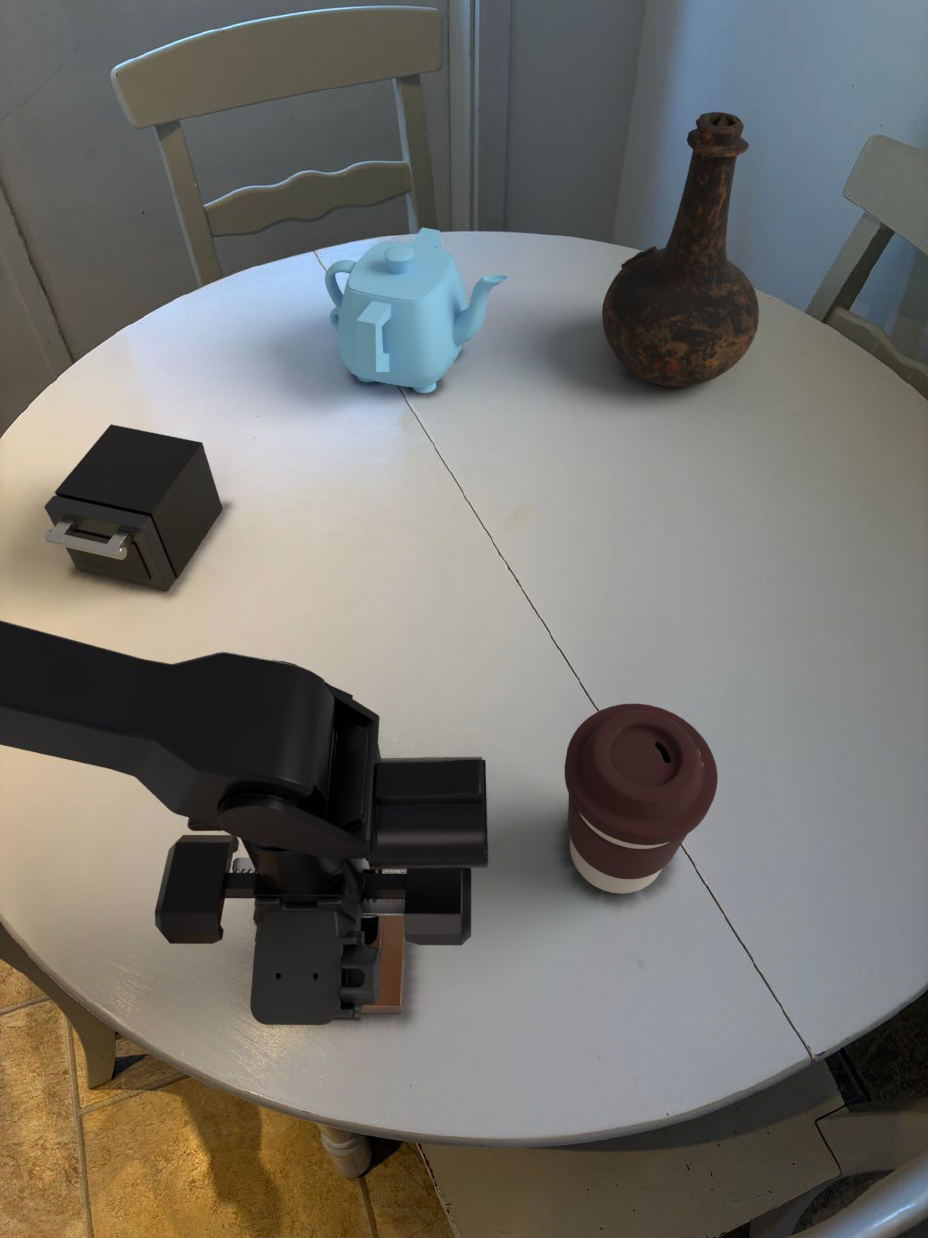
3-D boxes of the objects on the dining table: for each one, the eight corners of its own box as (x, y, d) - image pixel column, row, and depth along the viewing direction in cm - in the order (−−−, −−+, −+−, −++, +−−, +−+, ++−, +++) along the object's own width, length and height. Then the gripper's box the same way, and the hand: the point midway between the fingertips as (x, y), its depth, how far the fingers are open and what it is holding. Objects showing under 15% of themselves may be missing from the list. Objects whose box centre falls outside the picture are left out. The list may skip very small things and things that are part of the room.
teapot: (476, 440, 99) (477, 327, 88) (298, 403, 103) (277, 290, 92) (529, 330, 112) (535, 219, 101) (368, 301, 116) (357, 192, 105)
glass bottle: (666, 303, 115) (711, 64, 93) (775, 368, 107) (854, 121, 85) (565, 356, 108) (588, 111, 86) (673, 430, 100) (730, 178, 78)
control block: (273, 1013, 62) (263, 998, 59) (288, 900, 67) (280, 882, 64) (402, 1013, 62) (399, 999, 59) (407, 900, 67) (404, 882, 64)
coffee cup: (541, 896, 67) (555, 805, 55) (563, 781, 73) (580, 677, 61) (674, 927, 65) (718, 840, 53) (686, 807, 71) (727, 705, 59)
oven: (177, 578, 87) (151, 513, 80) (87, 558, 88) (54, 491, 81) (223, 509, 93) (202, 442, 86) (137, 490, 94) (110, 423, 87)
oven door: (155, 612, 84) (126, 549, 77) (62, 589, 86) (26, 526, 79) (176, 579, 86) (150, 516, 80) (85, 558, 88) (53, 494, 81)
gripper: (92, 990, 44) (175, 1062, 56) (470, 992, 44) (471, 1064, 56) (144, 786, 51) (208, 890, 63) (471, 787, 50) (471, 891, 63)
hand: (335, 934), depth 61 cm, fingers closed, pressing on start button
